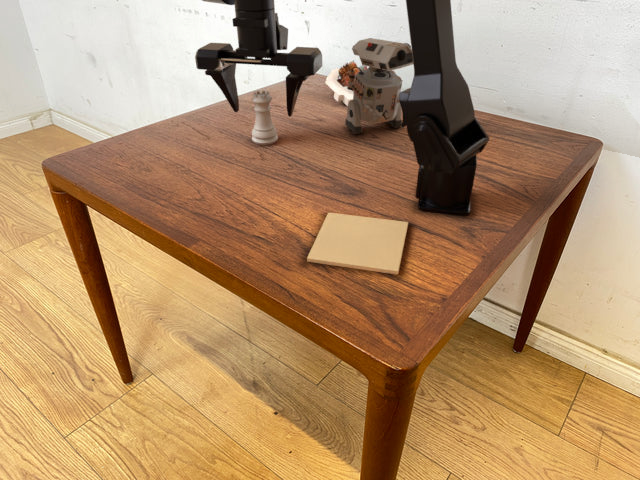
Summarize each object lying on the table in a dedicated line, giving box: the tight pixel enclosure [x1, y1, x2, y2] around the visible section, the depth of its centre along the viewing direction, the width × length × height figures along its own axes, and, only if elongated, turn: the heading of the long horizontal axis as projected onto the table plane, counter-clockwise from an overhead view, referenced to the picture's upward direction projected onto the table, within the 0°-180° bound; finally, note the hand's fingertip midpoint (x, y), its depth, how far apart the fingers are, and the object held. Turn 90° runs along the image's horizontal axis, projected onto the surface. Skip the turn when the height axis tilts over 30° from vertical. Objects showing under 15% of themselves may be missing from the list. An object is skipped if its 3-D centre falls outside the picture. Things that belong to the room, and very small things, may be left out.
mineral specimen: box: [324, 59, 369, 107], centre depth 99 cm, size 12×12×7 cm
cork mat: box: [306, 212, 409, 275], centre depth 56 cm, size 10×10×1 cm
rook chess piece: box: [251, 90, 279, 146], centre depth 80 cm, size 4×4×8 cm
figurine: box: [344, 37, 413, 135], centre depth 80 cm, size 9×12×15 cm
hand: (263, 113), depth 79 cm, fingers open, 9 cm apart
